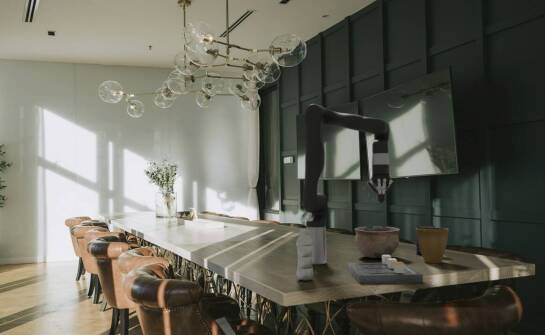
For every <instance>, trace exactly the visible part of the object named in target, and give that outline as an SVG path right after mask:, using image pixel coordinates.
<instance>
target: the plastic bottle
mask: <svg viewBox="0 0 545 335" xmlns="http://www.w3.org/2000/svg"><path fill="white" fill-rule="evenodd" d="M295 245H296V251H297V268H296V277H297V279H298V280H300V281H306V282H307V281H311V280H313V279H314V274H315V273H314V269H313V264H312V247H313V246H312V245H313V242H312V239H311V238H310V236H309V229H306V228H300V229H299V236H298V238H297V239H296V243H295Z"/></svg>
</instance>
